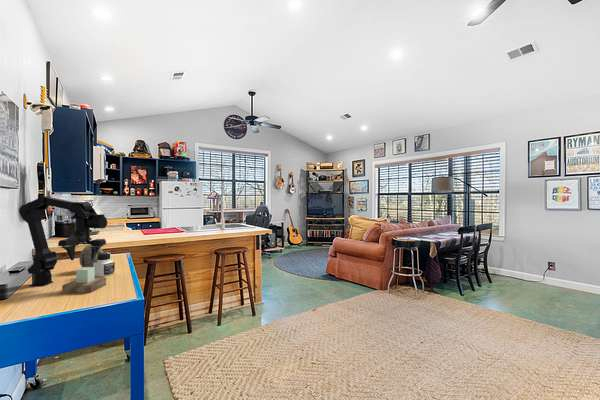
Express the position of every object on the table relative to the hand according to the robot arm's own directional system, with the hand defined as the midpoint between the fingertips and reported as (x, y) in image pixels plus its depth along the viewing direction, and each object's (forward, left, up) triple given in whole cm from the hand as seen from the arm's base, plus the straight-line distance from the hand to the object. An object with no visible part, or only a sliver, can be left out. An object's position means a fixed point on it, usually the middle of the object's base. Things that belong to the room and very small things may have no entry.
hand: (82, 260), depth 142 cm
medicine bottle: (0, +18, -12) cm, 22 cm away
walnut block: (+5, -6, -12) cm, 15 cm away
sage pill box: (+5, -6, -8) cm, 12 cm away
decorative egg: (-12, +28, -12) cm, 33 cm away
